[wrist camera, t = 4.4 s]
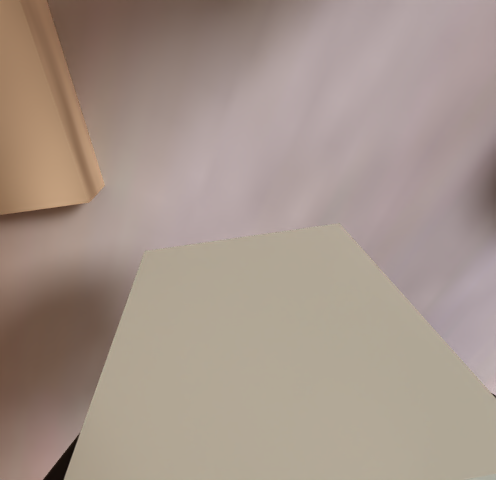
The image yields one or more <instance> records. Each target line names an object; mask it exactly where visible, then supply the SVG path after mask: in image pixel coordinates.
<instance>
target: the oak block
mask: <svg viewBox="0 0 496 480" xmlns="http://www.w3.org/2000/svg"><path fill="white" fill-rule="evenodd" d="M104 186H105V185H104V181H103V178H102V175H101V172H100V169H99V165H98V162H97V159H96V156H95V153H94V149H93V146H92V143H91V140H90V137H89V133H88V130H87V127H86V124H85V121H84V118H83V114H82V111H81V108H80V105H79V102H78V98H77V95H76V92H75V89H74V86H73V82H72V79H71V76H70V73H69V70H68V66H67V63H66V60H65V57H64V54H63V51H62V47H61V44H60V41H59V38H58V35H57V31H56V28H55V25H54V22H53V19H52V15H51V12H50V9H49V6H48V3H47V0H0V215H3V214H10V213H18V212H25V211H32V210H39V209H46V208H54V207H61V206H68V205H75V204H82V203H89V202H90V201H91V200H92V199H93V198H94V197H95V196H96V195H97V194H98V193H99V191H100V190H101V189H102V188H103V187H104Z"/></svg>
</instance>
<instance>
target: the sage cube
mask: <svg viewBox="0 0 496 480" xmlns="http://www.w3.org/2000/svg"><path fill="white" fill-rule="evenodd" d="M64 480H496V398H495V397H494V396H493V395H492V394H491V392H490V391H489V390H488V389H487V388H486V387H485V386H484V385H483V383H482V382H481V381H480V380H479V379H478V378H477V377H476V376H475V375H474V373H473V372H472V371H471V370H470V369H469V368H468V367H467V366H466V364H465V363H464V362H463V361H462V360H461V359H460V358H459V357H458V356H457V354H456V353H455V352H454V351H453V350H452V349H451V348H450V347H449V345H448V344H447V343H446V342H445V341H444V340H443V339H442V338H441V336H440V335H439V334H438V333H437V332H436V331H435V330H434V329H433V328H432V326H431V325H430V324H429V323H428V322H427V321H426V320H425V319H424V317H423V316H422V315H421V314H420V313H419V312H418V311H417V310H416V309H415V307H414V306H413V305H412V304H411V303H410V302H409V301H408V300H407V298H406V297H405V296H404V295H403V294H402V293H401V292H400V291H399V290H398V288H397V287H396V286H395V285H394V284H393V283H392V282H391V281H390V279H389V278H388V277H387V276H386V275H385V274H384V273H383V272H382V270H381V269H380V268H379V267H378V266H377V265H376V264H375V263H374V262H373V260H372V259H371V258H370V257H369V256H368V255H367V254H366V253H365V251H364V250H363V249H362V248H361V247H360V246H359V245H358V244H357V243H356V241H355V240H354V239H353V238H352V237H351V236H350V235H349V234H348V232H347V231H346V230H345V229H344V228H343V227H342V226H341V225H340V223H338V224H331V225H324V226H317V227H310V228H303V229H296V230H289V231H282V232H275V233H268V234H261V235H254V236H247V237H240V238H233V239H226V240H219V241H212V242H205V243H198V244H191V245H184V246H177V247H170V248H163V249H156V250H149V251H145V252H144V254H143V257H142V260H141V263H140V266H139V269H138V271H137V274H136V277H135V280H134V283H133V286H132V288H131V291H130V294H129V297H128V300H127V302H126V305H125V308H124V311H123V314H122V317H121V319H120V322H119V325H118V328H117V331H116V334H115V336H114V339H113V342H112V345H111V348H110V350H109V353H108V356H107V359H106V362H105V365H104V367H103V370H102V373H101V376H100V379H99V382H98V384H97V387H96V390H95V393H94V396H93V398H92V401H91V404H90V407H89V410H88V413H87V415H86V418H85V421H84V424H83V427H82V430H81V432H80V435H79V438H78V441H77V444H76V446H75V449H74V452H73V455H72V458H71V461H70V463H69V466H68V469H67V472H66V475H65V477H64Z"/></svg>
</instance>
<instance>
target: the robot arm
mask: <svg viewBox="0 0 496 480" xmlns="http://www.w3.org/2000/svg"><path fill="white" fill-rule="evenodd" d="M491 394H492V393H491ZM492 395H493V396H494V397H495V398H496V396H495V395H494V394H492ZM79 435H80V434H79ZM79 435H78V436H77V437H76V439H75V440H74V441H73V442H72V444H71V445H70V446H69V447H68V449H67V450H66V451H65V453H64V454H63V455H62V456H61V458H60V459H59V460H58V461H57V463H56V464H55V465H54V466H53V468H52V469H51V470H50V472H49V473H48V474H47V475H46V477H45V478H44V479H43V480H64V477H65V475H66V472H67V469H68V466H69V463H70V461H71V458H72V455H73V452H74V449H75V446H76V444H77V441H78V438H79Z"/></svg>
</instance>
